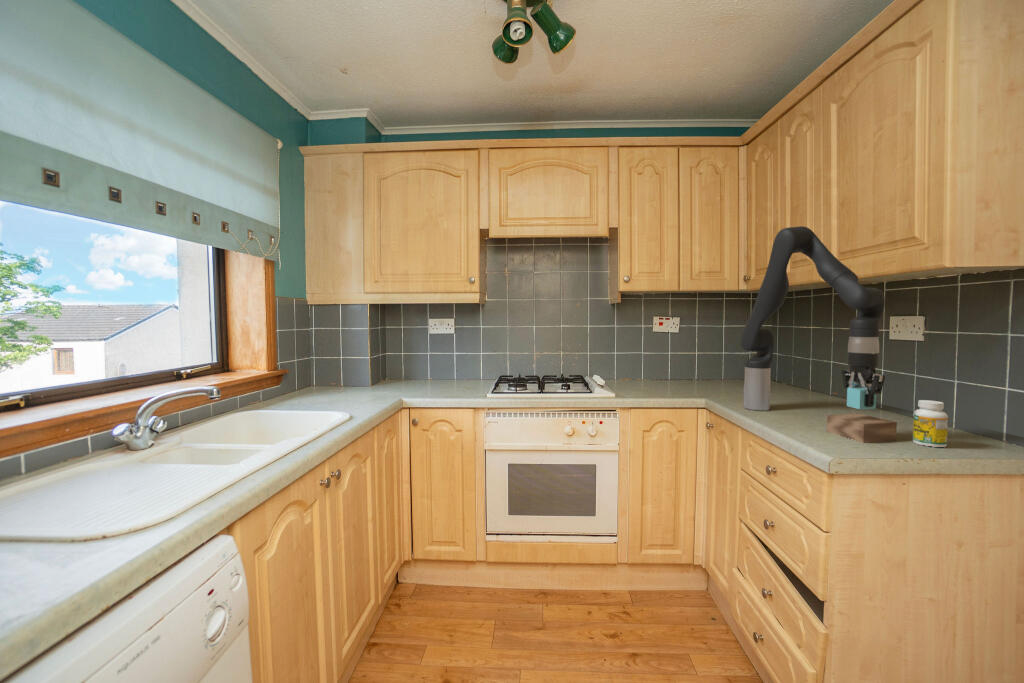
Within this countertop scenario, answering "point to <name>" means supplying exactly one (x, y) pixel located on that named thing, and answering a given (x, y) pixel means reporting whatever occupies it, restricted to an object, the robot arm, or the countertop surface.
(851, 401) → the teal block
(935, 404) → the supplement bottle
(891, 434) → the walnut box
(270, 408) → the countertop surface
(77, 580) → the countertop surface
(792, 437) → the countertop surface
